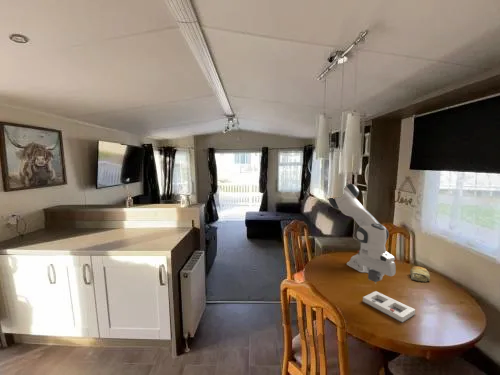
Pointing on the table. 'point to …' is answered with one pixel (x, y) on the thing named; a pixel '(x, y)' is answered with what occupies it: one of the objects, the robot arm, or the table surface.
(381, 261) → the robot arm
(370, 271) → the plug
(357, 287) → the table surface
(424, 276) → the pastry
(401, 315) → the socket board
